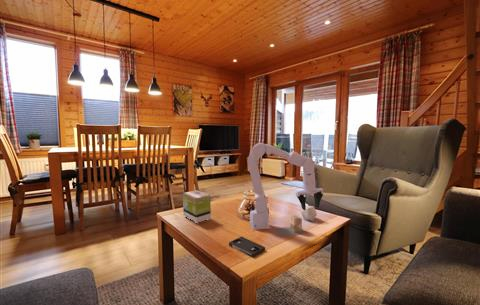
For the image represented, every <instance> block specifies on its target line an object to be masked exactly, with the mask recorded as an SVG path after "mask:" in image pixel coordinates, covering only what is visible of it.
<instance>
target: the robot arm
mask: <svg viewBox="0 0 480 305" xmlns="http://www.w3.org/2000/svg"><path fill="white" fill-rule="evenodd" d="M265 154H266V155H269V154H270V155H271V154H273V155H276V156H278V157H281V158H285V160H287V162H288V163H290V164H292V165H295V166H298V167H302V183H303V184H302V186H303V189H302V190H299V191H296V192H295V196H296V198H297V199H298V201H299V203H300V206H301V210H302V209H303V210H306V206H307V205H306V203H307V202H306V201H307V196H309V195H312V194H313V199H314V208H318V209H319V206H320V203H321V200H322V197H323V196H324V188H321V187H318V188H316V177H315V168H316V162H315V161H314V160H313V159H312V158H310V157H308V156H307V155H302V154H300V153H298V151H291V152H287V151H286V150H283V149H280V148H278V147H276V146H275V145H270V144H267V143H263V142H258V143H255V144H254V145H253V147H252V148H251V149H250V152H249V155H248V157H247V161H246V162H247V166H248V170H249V173H250V174H249V175H250V178H251V179H250V180H251V183H252V188H253V191H254V192H253V193H254V200H255V203H254V210H250V212H249V225H250V228H252V230H253V231H256V230H265V229H267V230H268V229H272V227H271V226H270V225H269V208H268V203H269V199H268V197H267V196H266V194H265V191H264V186H263V184H262V178H261V175H260V170H259V167H258V160H260V158H261V157H262V156H264V155H265Z"/></svg>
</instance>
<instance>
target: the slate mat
mask: <svg viewBox="0 0 480 305" xmlns="http://www.w3.org/2000/svg"><path fill="white" fill-rule="evenodd" d="M273 230H274V231H275V233H277V235H279V237H281V238H282V237H290V236H298V235H307V234H308V232H306V231H305V230H304V229H303V228H302V231H301V232H295V233H294V232H293V231H292V230H291V229H290V226H288V227H286V226H285V227H280V228H279V227H277V228H273Z"/></svg>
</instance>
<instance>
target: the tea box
mask: <svg viewBox="0 0 480 305" xmlns="http://www.w3.org/2000/svg"><path fill="white" fill-rule="evenodd" d="M182 204H183V205H182V207H183V208H182V210H183V212H182V214H183V216H184V215H185V216H186V217H188V218H189V219H188V218H187V219H188V220H190V219H191V220H193V221H194V222H196V223H197V222H201V221H204V220H207V219H210V220H211V219H212V217H211V216H212V210H211V207H212V206H211V194H208V193H206V192H203V191H200V190H197V189H195V190H191V191H187V192H183V193H182ZM186 217H185V218H186ZM191 220H190V221H191ZM193 221H192V222H193ZM207 221H208V220H207ZM194 222H193V223H194ZM204 222H205V221H204ZM196 223H195V224H196ZM201 223H202V222H201ZM197 224H198V223H197Z"/></svg>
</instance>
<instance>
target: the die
mask: <svg viewBox="0 0 480 305" xmlns="http://www.w3.org/2000/svg"><path fill="white" fill-rule="evenodd" d="M300 213H301V216H302V220H304V221H309V222H313V221H314V220H315V219H316V217H317V211H316V207H315V205H314V206H313V205H306V210H303V209H302V208H301V210H300Z"/></svg>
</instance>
